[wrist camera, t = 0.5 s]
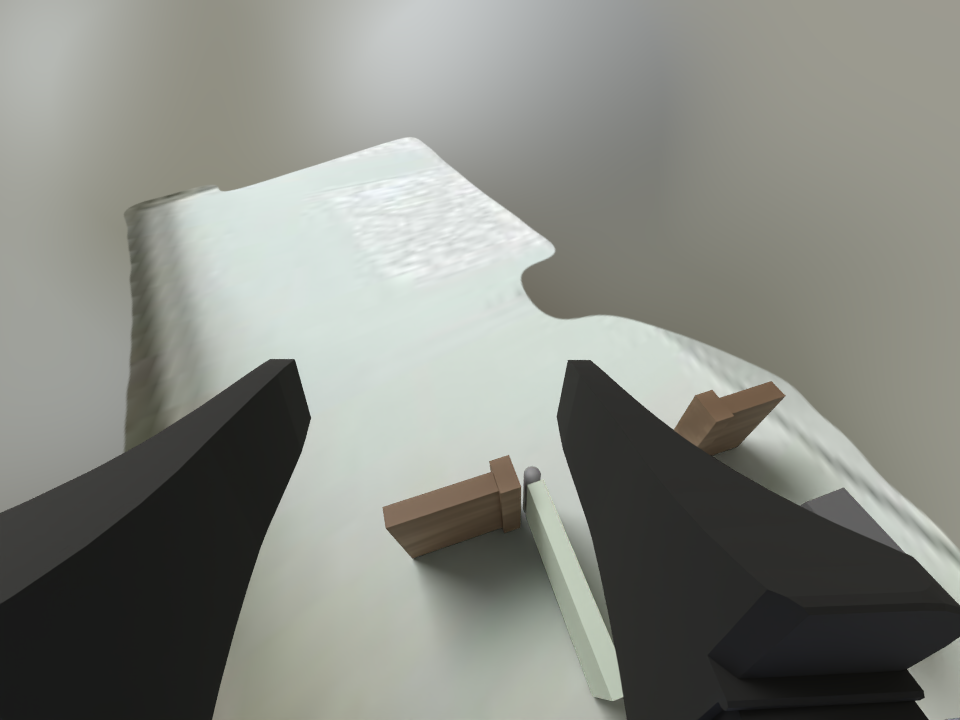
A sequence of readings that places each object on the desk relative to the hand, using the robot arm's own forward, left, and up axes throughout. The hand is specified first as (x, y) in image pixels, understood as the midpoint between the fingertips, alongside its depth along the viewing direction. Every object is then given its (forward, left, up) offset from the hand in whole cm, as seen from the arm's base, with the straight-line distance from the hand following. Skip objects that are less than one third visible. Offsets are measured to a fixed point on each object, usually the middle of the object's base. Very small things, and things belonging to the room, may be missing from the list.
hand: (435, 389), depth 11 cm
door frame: (+2, -8, -20) cm, 22 cm away
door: (-3, -4, -20) cm, 21 cm away
